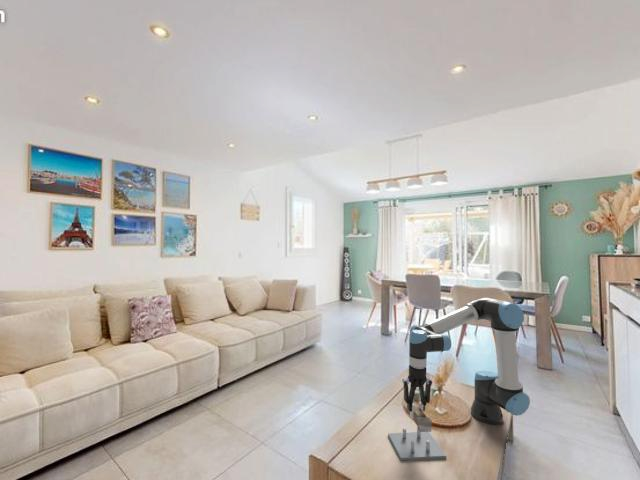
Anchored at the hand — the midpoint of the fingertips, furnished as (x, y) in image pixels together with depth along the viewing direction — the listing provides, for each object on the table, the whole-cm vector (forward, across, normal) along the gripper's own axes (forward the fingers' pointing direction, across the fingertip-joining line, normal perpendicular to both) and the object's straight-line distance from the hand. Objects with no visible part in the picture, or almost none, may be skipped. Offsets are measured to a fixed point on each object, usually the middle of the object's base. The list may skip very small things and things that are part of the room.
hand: (416, 417), depth 131 cm
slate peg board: (+13, 0, 0) cm, 13 cm away
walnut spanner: (0, 0, +1) cm, 1 cm away
